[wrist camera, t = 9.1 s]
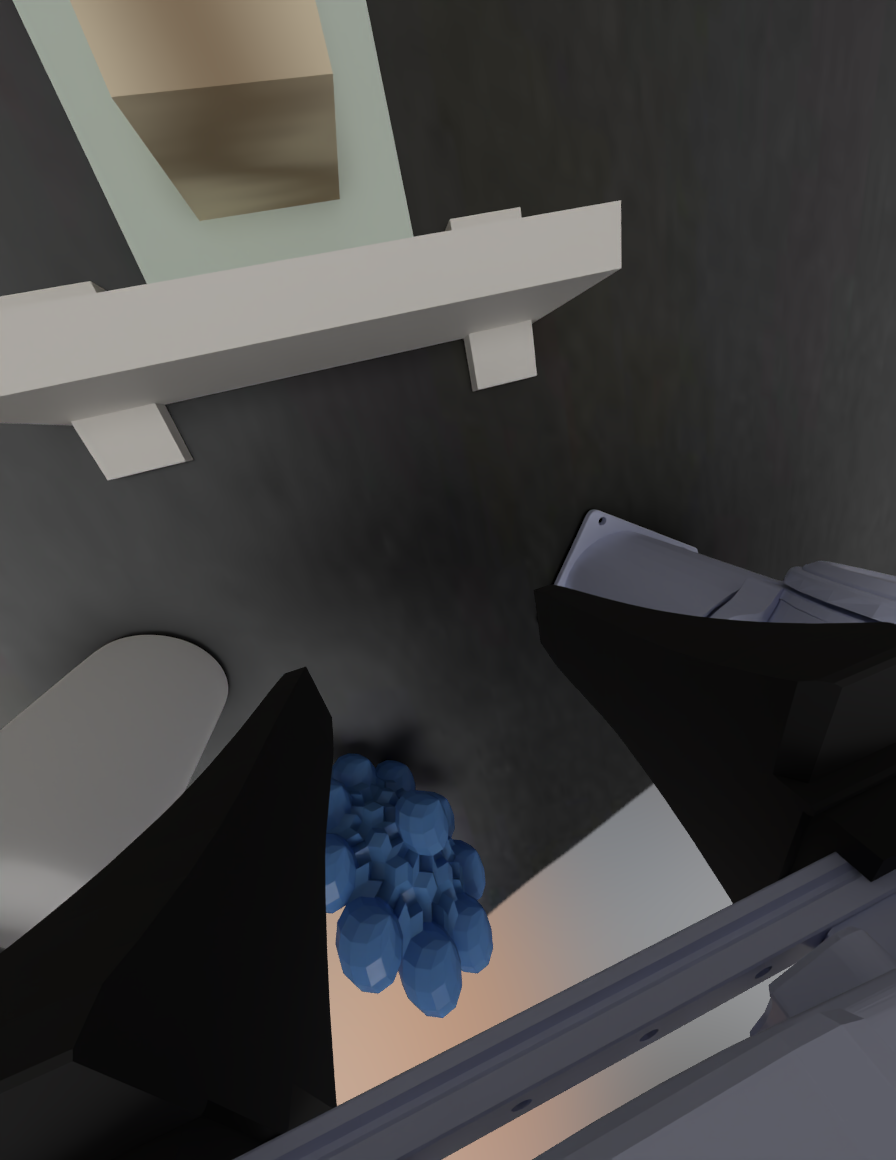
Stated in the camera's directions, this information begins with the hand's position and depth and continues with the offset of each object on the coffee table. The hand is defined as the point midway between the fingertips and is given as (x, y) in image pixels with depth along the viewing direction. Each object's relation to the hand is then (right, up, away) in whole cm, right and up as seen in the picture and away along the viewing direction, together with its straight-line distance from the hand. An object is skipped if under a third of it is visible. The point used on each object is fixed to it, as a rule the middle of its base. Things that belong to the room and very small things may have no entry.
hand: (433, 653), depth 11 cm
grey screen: (-5, +12, +4) cm, 14 cm away
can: (-15, -3, +8) cm, 17 cm away
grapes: (-3, -10, +14) cm, 17 cm away
